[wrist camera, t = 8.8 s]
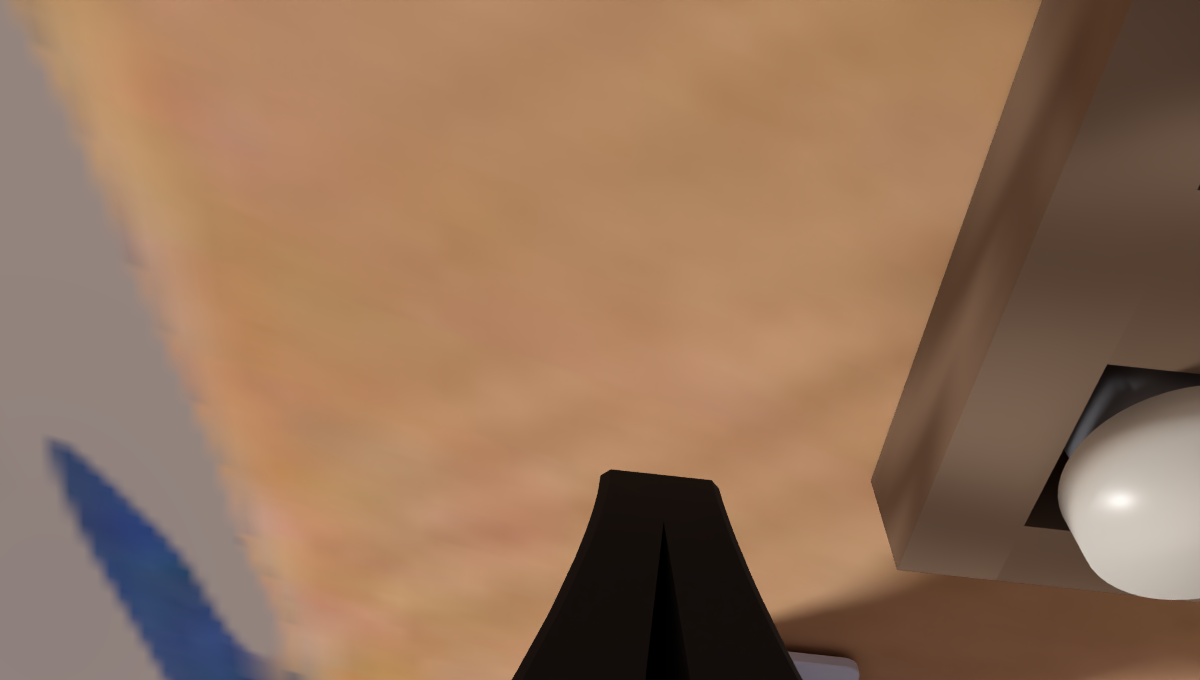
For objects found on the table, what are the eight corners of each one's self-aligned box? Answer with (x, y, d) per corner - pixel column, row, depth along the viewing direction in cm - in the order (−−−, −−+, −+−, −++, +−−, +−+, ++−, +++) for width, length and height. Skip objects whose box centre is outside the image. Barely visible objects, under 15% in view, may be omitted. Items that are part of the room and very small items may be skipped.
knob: (1163, 466, 21) (1269, 611, 17) (978, 446, 21) (1045, 587, 17) (1258, 309, 18) (1408, 440, 15) (1048, 287, 18) (1144, 411, 15)
